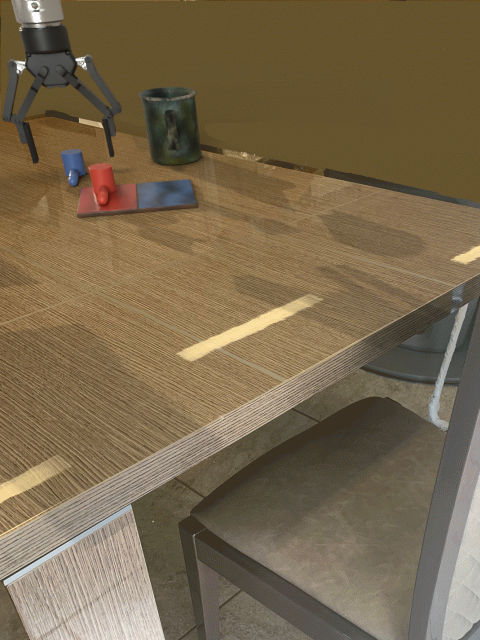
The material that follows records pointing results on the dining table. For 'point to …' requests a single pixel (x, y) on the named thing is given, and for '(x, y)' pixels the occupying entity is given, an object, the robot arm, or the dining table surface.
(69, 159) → the blue knobbed cylinder
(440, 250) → the dining table surface
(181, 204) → the sorting board
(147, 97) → the mug
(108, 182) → the red cylinder with knob
